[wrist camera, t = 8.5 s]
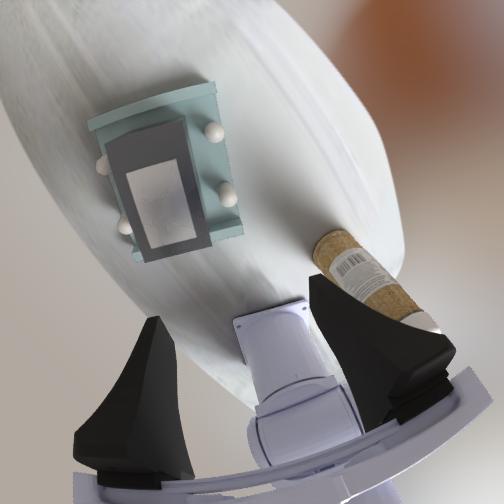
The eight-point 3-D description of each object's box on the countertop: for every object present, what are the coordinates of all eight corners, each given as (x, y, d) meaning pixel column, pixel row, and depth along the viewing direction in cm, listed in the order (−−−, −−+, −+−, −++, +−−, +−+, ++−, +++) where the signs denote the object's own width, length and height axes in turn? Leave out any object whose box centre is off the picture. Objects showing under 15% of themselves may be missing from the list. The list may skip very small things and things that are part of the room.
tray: (239, 222, 22) (246, 239, 19) (139, 248, 21) (134, 268, 19) (212, 83, 16) (215, 80, 13) (96, 118, 15) (81, 121, 13)
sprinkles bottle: (315, 275, 26) (384, 386, 15) (308, 237, 24) (394, 354, 13) (355, 259, 27) (434, 356, 15) (352, 221, 24) (451, 318, 13)
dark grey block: (205, 208, 20) (212, 246, 15) (154, 222, 19) (144, 263, 15) (185, 115, 16) (182, 119, 11) (128, 131, 15) (103, 144, 11)
